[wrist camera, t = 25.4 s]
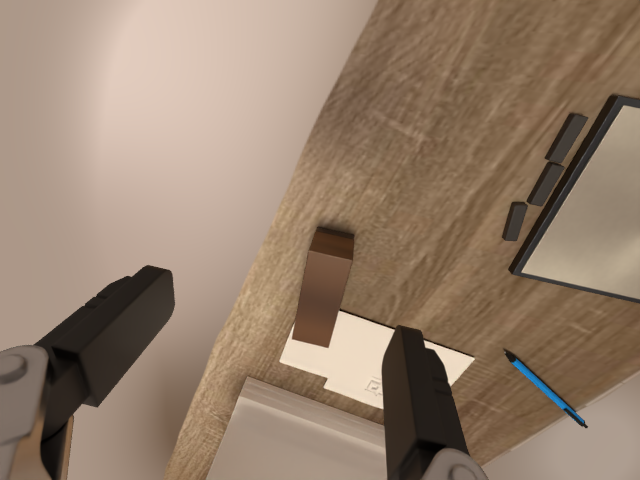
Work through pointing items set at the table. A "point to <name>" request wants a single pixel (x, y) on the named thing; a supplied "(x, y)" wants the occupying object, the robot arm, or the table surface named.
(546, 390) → the pen
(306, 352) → the paper
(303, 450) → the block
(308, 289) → the eraser
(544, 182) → the stroke
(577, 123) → the stroke
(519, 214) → the stroke
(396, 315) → the table surface
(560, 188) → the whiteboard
